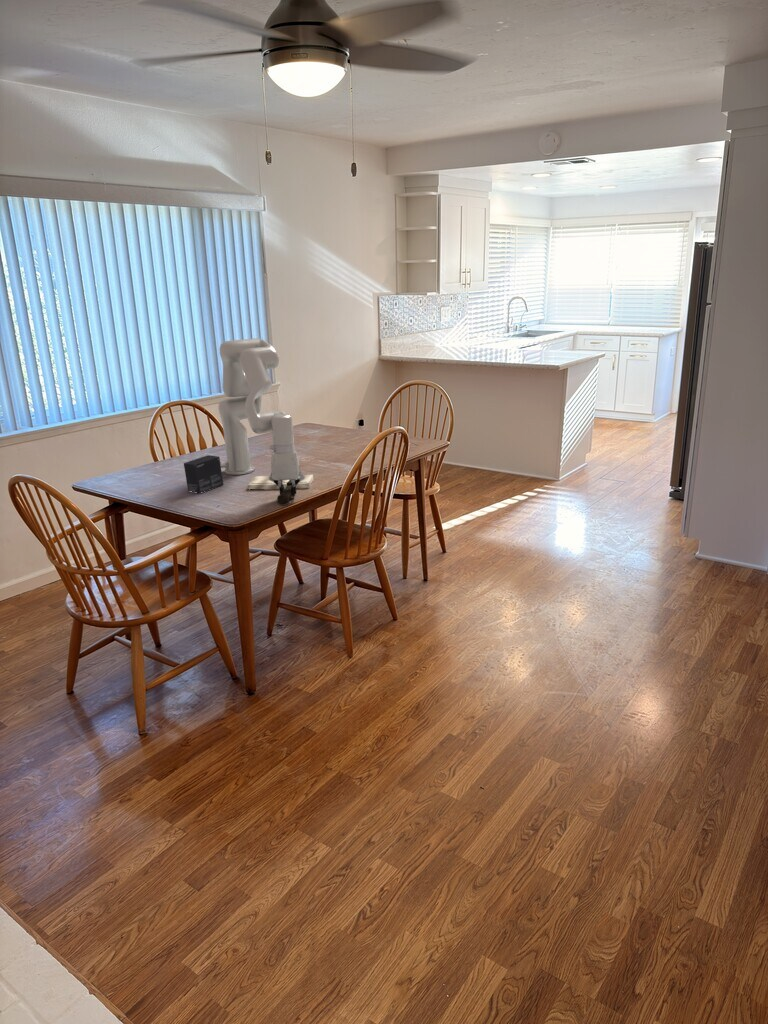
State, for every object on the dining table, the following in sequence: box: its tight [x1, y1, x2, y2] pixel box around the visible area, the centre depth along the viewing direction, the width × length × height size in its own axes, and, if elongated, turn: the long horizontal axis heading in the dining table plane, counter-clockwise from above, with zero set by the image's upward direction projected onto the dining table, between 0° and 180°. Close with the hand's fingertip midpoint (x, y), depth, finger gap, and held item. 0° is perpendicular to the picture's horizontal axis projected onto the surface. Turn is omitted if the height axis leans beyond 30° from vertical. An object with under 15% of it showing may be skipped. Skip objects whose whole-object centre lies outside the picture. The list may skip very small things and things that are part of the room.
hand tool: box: [276, 480, 292, 506], centre depth 263 cm, size 19×4×5 cm, turn 172°
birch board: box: [247, 474, 314, 491], centre depth 281 cm, size 24×12×2 cm, turn 88°
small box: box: [183, 454, 224, 494], centre depth 279 cm, size 13×7×12 cm, turn 147°
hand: (288, 495), depth 264 cm, fingers closed on hand tool, 3 cm apart
